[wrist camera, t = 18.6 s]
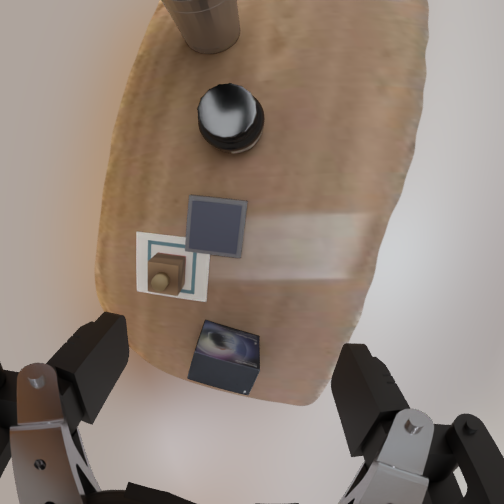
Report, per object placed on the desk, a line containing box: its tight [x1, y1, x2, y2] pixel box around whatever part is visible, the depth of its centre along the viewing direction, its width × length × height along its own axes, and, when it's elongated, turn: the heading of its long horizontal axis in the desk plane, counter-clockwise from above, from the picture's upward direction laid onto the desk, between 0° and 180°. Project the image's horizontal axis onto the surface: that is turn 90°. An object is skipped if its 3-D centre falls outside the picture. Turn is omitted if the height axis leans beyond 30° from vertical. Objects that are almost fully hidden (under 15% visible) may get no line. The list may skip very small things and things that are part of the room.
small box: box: [187, 320, 260, 395], centre depth 46 cm, size 11×6×10 cm, turn 72°
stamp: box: [148, 252, 186, 296], centre depth 43 cm, size 5×5×7 cm
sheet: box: [136, 232, 210, 302], centre depth 47 cm, size 11×13×1 cm
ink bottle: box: [197, 83, 264, 153], centre depth 35 cm, size 10×9×12 cm
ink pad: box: [185, 195, 248, 258], centre depth 44 cm, size 9×9×2 cm
